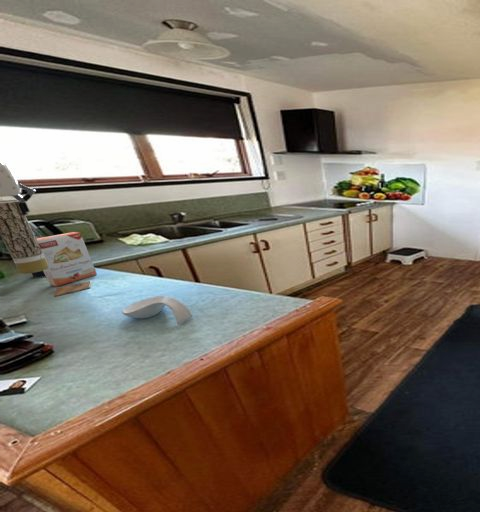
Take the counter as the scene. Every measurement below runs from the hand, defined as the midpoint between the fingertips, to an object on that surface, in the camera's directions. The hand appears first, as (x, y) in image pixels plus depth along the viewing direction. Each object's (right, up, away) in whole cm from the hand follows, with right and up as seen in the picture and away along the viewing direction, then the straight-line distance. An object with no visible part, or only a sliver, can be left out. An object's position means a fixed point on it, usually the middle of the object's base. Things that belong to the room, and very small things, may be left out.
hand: (8, 215), depth 91 cm
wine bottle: (-38, -23, +39) cm, 59 cm away
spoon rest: (+52, -34, 0) cm, 62 cm away
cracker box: (-14, -25, +32) cm, 43 cm away
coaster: (-4, -28, +23) cm, 36 cm away
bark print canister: (0, -19, +7) cm, 20 cm away
